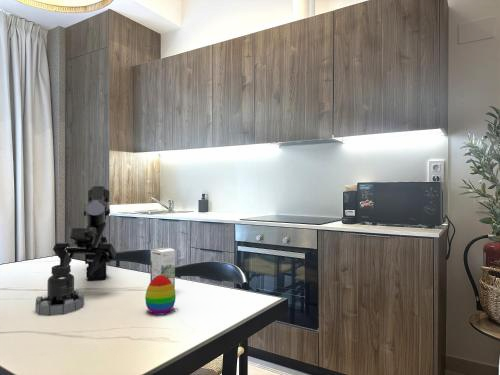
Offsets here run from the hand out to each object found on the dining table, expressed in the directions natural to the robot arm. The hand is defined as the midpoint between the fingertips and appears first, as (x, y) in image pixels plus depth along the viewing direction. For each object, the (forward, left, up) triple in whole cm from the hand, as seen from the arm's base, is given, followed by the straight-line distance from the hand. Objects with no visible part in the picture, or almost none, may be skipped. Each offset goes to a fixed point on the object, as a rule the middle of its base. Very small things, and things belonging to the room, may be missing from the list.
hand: (75, 273), depth 108 cm
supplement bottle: (+3, +7, -8) cm, 11 cm away
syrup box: (-26, +2, -8) cm, 28 cm away
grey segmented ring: (+3, +7, -8) cm, 11 cm away
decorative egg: (-24, +19, -8) cm, 32 cm away
